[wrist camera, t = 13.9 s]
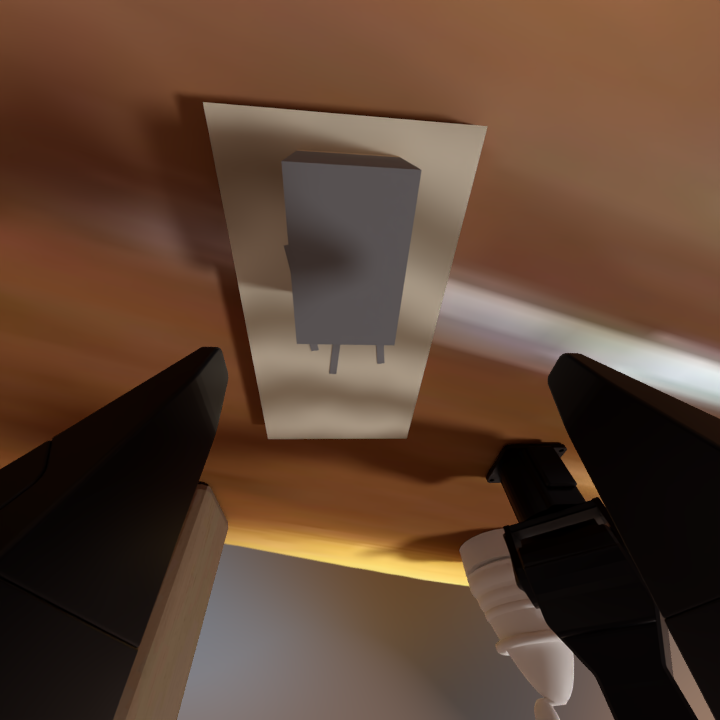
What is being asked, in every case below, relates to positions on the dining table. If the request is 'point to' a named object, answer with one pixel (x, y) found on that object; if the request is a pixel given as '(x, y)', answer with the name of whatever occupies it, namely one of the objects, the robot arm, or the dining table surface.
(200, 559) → the wooden block
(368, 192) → the block
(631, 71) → the dining table surface
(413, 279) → the board
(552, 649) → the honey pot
